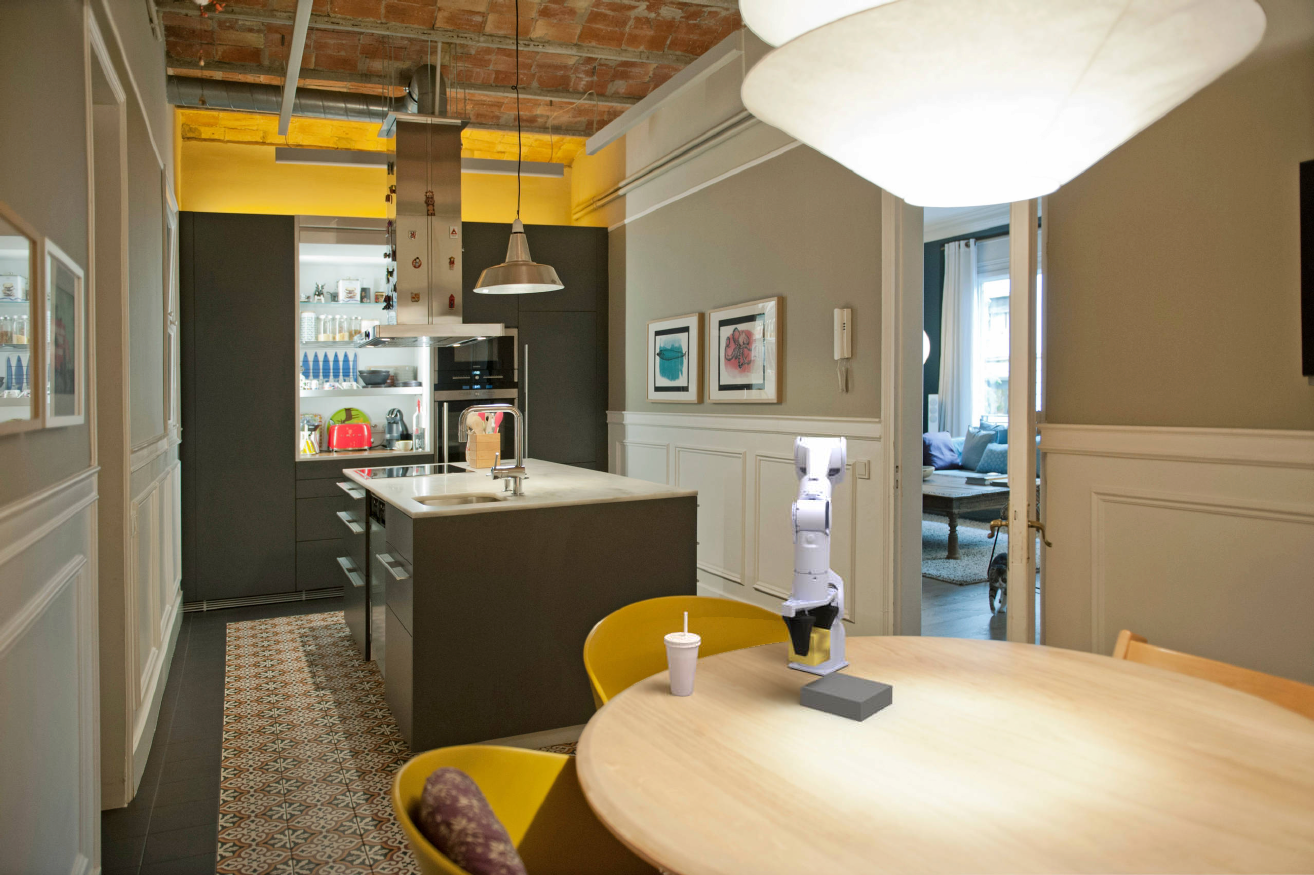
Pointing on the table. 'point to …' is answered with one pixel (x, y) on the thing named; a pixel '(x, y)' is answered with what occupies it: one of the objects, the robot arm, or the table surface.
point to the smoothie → (682, 660)
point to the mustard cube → (813, 648)
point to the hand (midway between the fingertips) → (810, 651)
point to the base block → (846, 696)
